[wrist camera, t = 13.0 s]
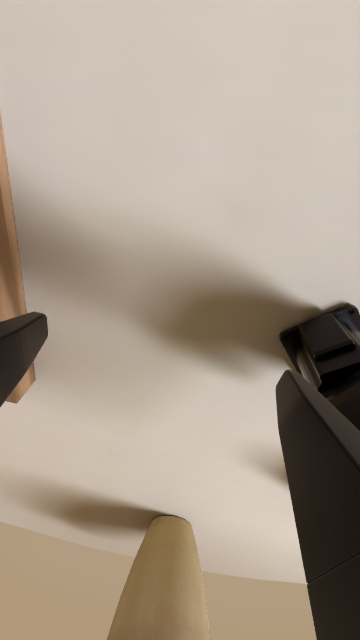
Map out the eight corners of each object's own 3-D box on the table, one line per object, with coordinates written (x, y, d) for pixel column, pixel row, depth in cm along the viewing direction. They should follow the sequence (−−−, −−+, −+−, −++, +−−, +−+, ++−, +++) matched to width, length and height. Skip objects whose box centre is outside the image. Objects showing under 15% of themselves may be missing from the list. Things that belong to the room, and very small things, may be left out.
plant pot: (120, 523, 50) (86, 657, 37) (156, 496, 43) (131, 650, 29) (184, 547, 53) (175, 679, 40) (229, 526, 46) (236, 678, 32)
